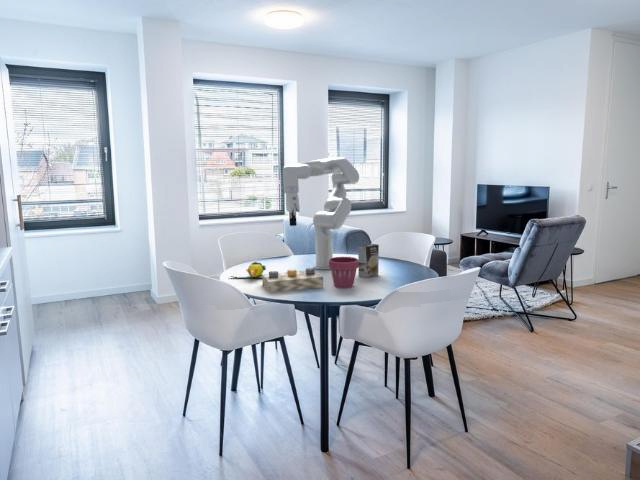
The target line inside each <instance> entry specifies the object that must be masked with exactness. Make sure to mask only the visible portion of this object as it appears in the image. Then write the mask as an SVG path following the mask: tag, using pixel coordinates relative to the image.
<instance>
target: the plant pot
mask: <svg viewBox="0 0 640 480" xmlns="http://www.w3.org/2000/svg"><path fill="white" fill-rule="evenodd" d="M358 267H359V262H358V257H357V258H356V257H352V256H335V257H333V258H330V259H329V268H331V269H330V273H331V277H332V280H333V281H332V282H333V285H334V287H336V288H338V289H339V288H340V289H348V288H352V287H354V283H355V280H356V274H357V270H358Z"/></svg>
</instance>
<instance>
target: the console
mask: <svg viewBox="0 0 640 480" xmlns="http://www.w3.org/2000/svg"><path fill="white" fill-rule="evenodd" d="M261 276H262V278H261V279H262V286H263V285H264V286H265V287H264V286H263V287H264V288H265V290H266V291H267V290H268V291H267V292H268V293H277V292H276V291H279V292H286V291H288V290H289V291H297V290H299V291H300V290H308V289H317V288H318V289H319V288H324V276H323V275H321V274H320V273H319V272H317V271H316V270H315V274H313V275H306V270H297V276H291V277H290V276H288V274H287V272H286V271H285V272H278V278H269V273H264V274H263V273H262V275H261Z"/></svg>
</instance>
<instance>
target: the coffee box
mask: <svg viewBox="0 0 640 480" xmlns="http://www.w3.org/2000/svg"><path fill="white" fill-rule="evenodd" d="M357 247H358V251H357V252H358V254H357V255H358V256H357V259H358V262H359V267H358V268H357V270H358V275H357V276H358V277H360V278H366V279H367V278H373V277H376V276H379V266H380V265H379V261H380V260H379V258H380V257H379V256H380V255H379V250H380V249H379V248H380V247H379V244H375V243H365V244H360V245H358V246H357Z"/></svg>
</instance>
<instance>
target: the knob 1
mask: <svg viewBox="0 0 640 480" xmlns="http://www.w3.org/2000/svg"><path fill="white" fill-rule="evenodd" d="M278 273H279V271H276V270H272V271H268V274H269V278H278Z"/></svg>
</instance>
